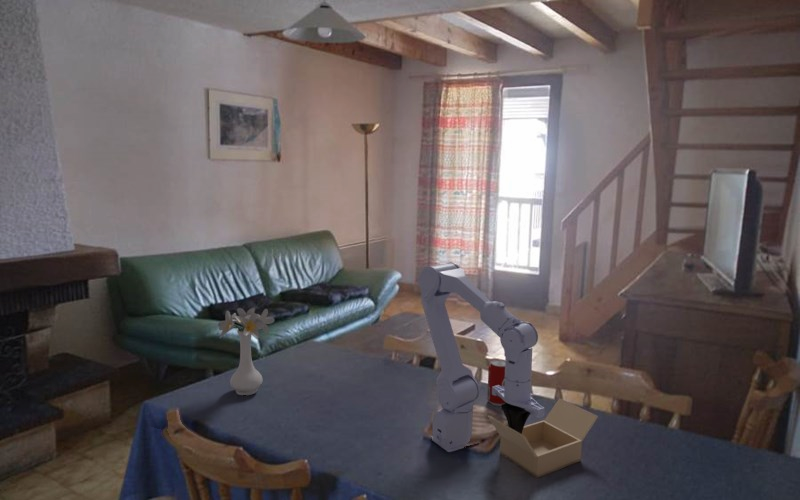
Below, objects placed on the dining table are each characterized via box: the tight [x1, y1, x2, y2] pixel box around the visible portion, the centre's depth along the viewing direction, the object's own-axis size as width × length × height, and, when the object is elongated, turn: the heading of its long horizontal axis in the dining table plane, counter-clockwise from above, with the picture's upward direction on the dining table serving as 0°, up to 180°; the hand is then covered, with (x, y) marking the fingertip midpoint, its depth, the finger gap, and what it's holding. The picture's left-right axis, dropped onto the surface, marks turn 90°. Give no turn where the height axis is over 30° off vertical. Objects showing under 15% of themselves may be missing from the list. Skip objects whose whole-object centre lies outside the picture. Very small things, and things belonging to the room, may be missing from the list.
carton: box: [499, 419, 583, 479], centre depth 128 cm, size 14×12×5 cm
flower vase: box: [217, 307, 275, 396], centre depth 162 cm, size 13×18×25 cm
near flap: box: [487, 415, 537, 457], centre depth 122 cm, size 7×12×1 cm
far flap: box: [543, 397, 599, 442], centre depth 132 cm, size 7×12×1 cm
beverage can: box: [486, 359, 505, 407], centre depth 157 cm, size 6×6×12 cm
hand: (515, 435), depth 123 cm, fingers closed, pressing on near flap
